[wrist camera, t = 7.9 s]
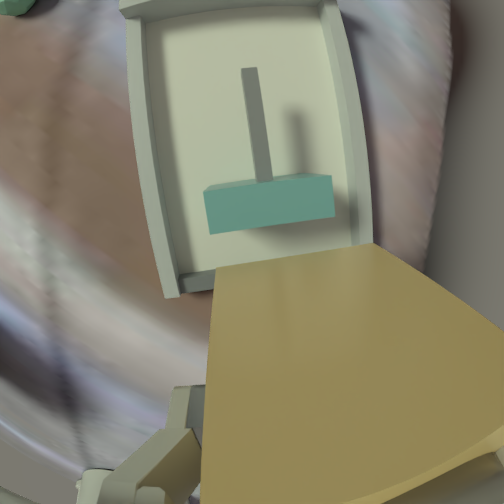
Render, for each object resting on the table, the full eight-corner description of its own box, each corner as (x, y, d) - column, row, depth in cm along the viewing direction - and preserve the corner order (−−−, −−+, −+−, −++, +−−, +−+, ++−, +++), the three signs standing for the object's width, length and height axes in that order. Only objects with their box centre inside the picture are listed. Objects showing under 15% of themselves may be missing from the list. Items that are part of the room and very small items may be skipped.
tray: (359, 255, 21) (383, 272, 18) (171, 285, 21) (160, 309, 17) (323, 2, 15) (339, -21, 12) (134, 21, 15) (119, -2, 11)
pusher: (307, 203, 19) (335, 216, 14) (214, 216, 19) (209, 234, 14) (291, 83, 16) (313, 56, 12) (196, 93, 16) (186, 67, 11)
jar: (367, 364, 11) (466, 533, 3) (241, 390, 11) (263, 602, 3) (373, 242, 10) (589, 407, 1) (216, 267, 10) (199, 596, 1)
